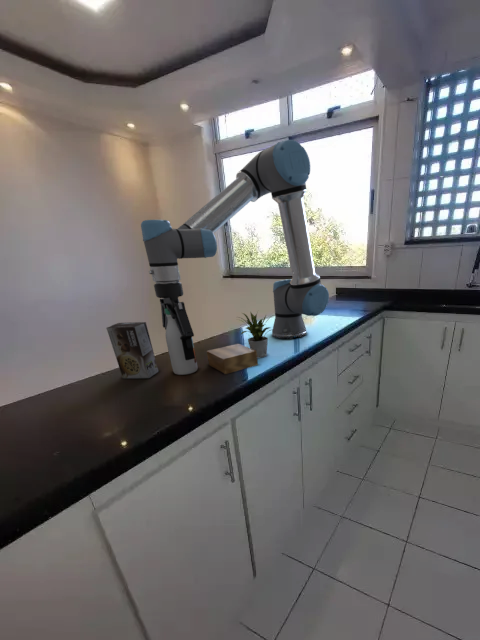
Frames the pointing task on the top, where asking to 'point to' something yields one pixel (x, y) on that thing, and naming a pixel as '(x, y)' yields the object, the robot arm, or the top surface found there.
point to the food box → (133, 349)
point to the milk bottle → (178, 349)
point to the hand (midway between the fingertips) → (182, 354)
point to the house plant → (257, 335)
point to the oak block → (232, 358)
